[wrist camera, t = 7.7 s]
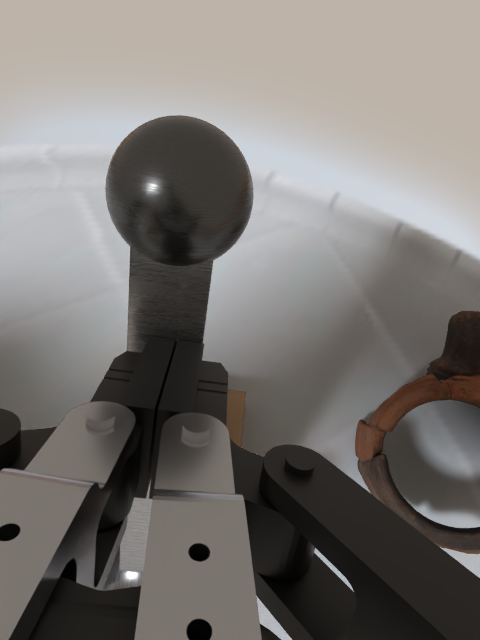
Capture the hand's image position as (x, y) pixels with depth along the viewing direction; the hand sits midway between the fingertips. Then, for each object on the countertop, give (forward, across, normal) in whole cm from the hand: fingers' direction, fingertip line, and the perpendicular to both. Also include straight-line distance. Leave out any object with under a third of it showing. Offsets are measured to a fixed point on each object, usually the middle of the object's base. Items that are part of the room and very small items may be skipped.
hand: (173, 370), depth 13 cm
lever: (+3, 0, +12) cm, 12 cm away
